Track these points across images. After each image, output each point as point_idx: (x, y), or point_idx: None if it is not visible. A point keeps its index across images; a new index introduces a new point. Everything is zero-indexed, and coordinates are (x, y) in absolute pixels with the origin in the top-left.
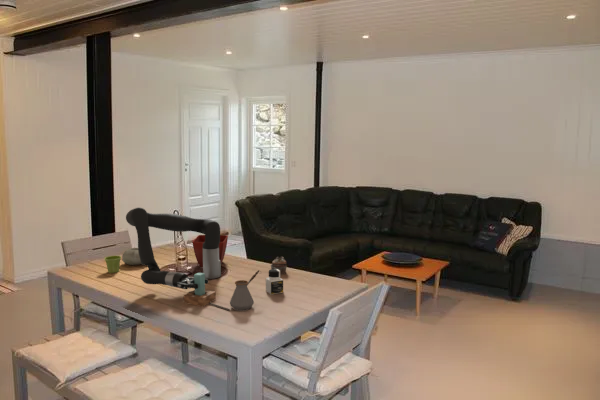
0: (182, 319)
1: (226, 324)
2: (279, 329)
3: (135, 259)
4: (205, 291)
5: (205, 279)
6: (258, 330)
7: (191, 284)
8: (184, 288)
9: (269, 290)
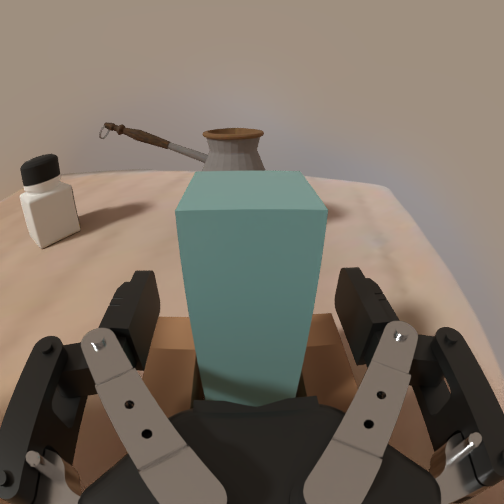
0: (475, 316)
1: (373, 224)
2: (305, 177)
3: None
4: (180, 377)
5: (144, 284)
6: (338, 189)
7: (383, 321)
8: (443, 388)
9: (68, 224)
